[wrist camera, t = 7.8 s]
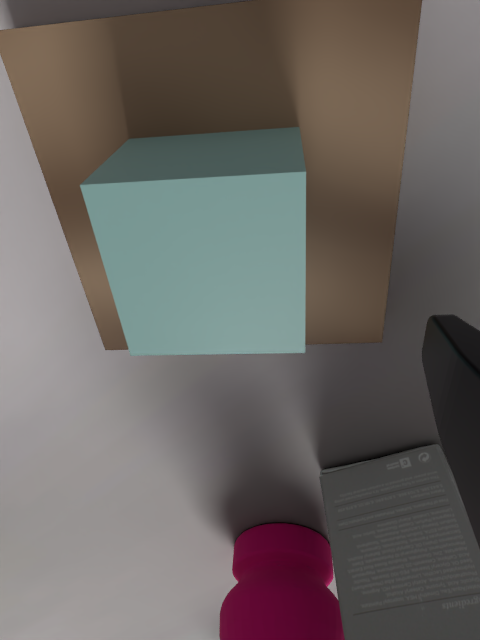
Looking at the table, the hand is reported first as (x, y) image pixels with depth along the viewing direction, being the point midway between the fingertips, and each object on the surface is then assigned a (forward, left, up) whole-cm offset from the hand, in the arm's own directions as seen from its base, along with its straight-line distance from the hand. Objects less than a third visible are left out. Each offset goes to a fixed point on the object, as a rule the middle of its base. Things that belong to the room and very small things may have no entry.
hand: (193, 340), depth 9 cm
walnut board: (0, 0, -8) cm, 8 cm away
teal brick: (0, 0, -7) cm, 7 cm away
